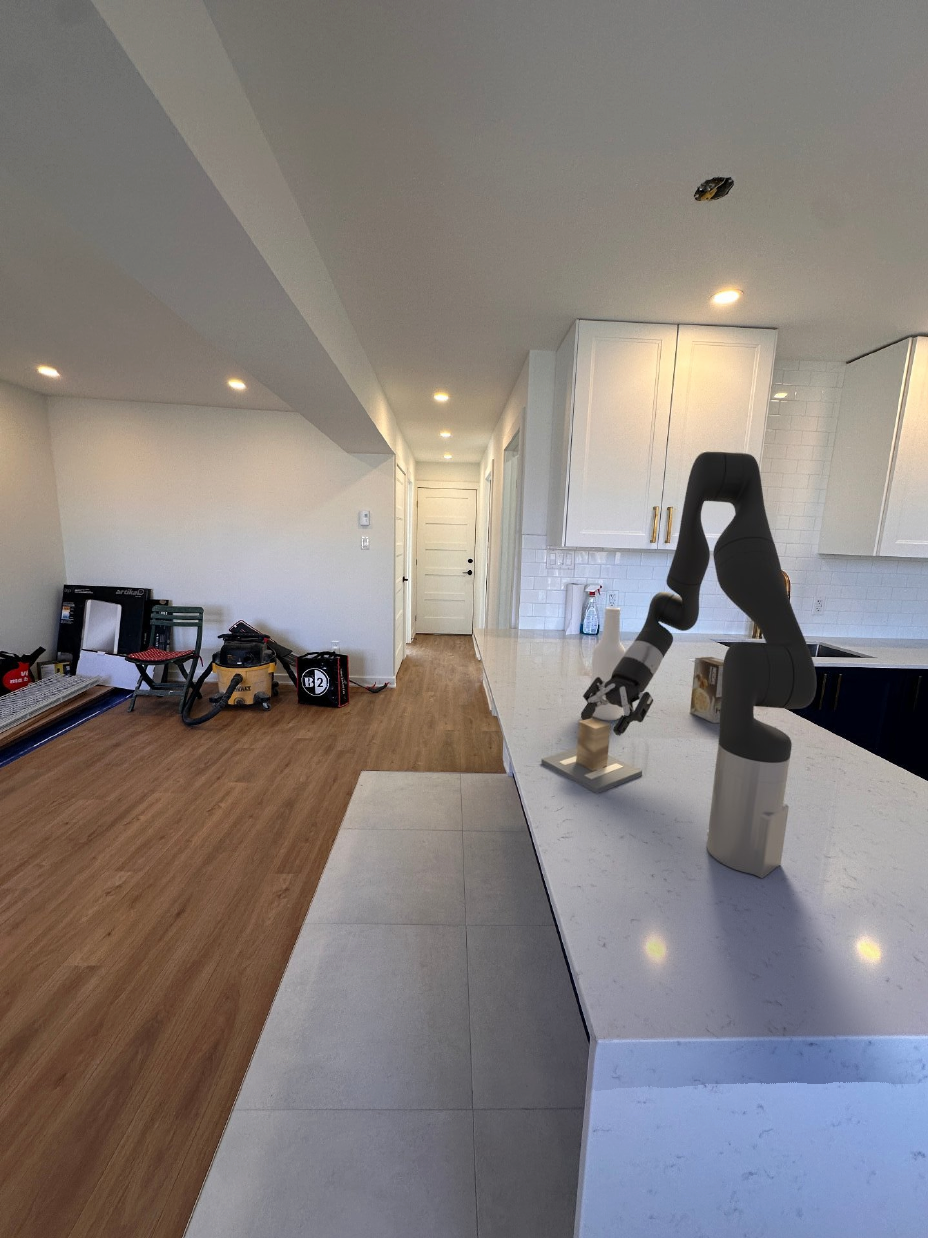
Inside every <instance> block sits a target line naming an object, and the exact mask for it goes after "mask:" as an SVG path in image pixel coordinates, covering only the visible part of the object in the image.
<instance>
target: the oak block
mask: <svg viewBox="0 0 928 1238" xmlns="http://www.w3.org/2000/svg"><path fill="white" fill-rule="evenodd" d="M610 733H611V724H610V723H608V722H605V721H604V720H601V719H597V718H594V717H591V718H590V719H587V720H580V721H578V730H577V742H576V743H577V744H576V745H577V746H576V748H577V755H576V763H578V764H580V765H582V766H584V767H586V768H588V769H590V770H592V771H593V770H596V769H599V768H602V767H604V766H607V761H608V755H609V748H610V746H609V745H610Z"/></svg>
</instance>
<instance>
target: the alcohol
mask: <svg viewBox="0 0 928 1238" xmlns="http://www.w3.org/2000/svg"><path fill="white" fill-rule="evenodd" d="M604 610H605V611H604V620H603V627H602V633H601V638H600V641H598V643H597V644H596V645H595V646H594V648H593V650H592V651H593V652H592V656H591V657H592V658H591V669H590V670H591V672H590V673H591V675H590V685H591V684H592V683H593V681H594V680H595V679H596V678H597V677H600V678H601V680H603V681H605V682H607V681H609V680H610V679H611V677H612V673H613V671H614V669H615V668H616V666H617V665H618V663H619V662H620V660H621V659H622V657H623V655H624V654H625V652H626V651H627V650H626V649H625V647H624V645H623V643H622V642H621V640H620V639H621V638H620V637H621V636H620V632H621V631H620V629H621V627H620V626H621V625H620V624H621V623H620V622H621V621H620V617H621V608H620V607H616V606H606V607H605V608H604ZM603 689H605V688H603ZM603 698H606V697H605V695H604V696H603ZM597 701H599V700H597ZM597 701H595V702H597ZM595 709H596V710H595V712H594V713H593V715H592V716H591V717H592V718H595V719H598V720H600V721H618V720H619V719H620V717H621V715H623V713H622V712H623V707H622V708H621V707H619V706H617V705H612V704H610V703H608V704H607V705H601V706H599V707H597V708H595Z"/></svg>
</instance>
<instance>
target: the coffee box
mask: <svg viewBox="0 0 928 1238" xmlns="http://www.w3.org/2000/svg"><path fill="white" fill-rule="evenodd" d="M723 663H724V659H720V658H716V657H713V656H705V657H703V656H701V657H695V658H694V667H693V677H692V687H691V698H690V699H691V700H690V710H689V713H691V714H692V715H695V716H697V717H699V718H702V719H704V720H706V721H709V722H710V723H713V724H718V723H720V722H719V720H720V707H721V693H722V672H723Z"/></svg>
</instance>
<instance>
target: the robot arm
mask: <svg viewBox="0 0 928 1238" xmlns="http://www.w3.org/2000/svg"><path fill="white" fill-rule="evenodd" d="M689 473H690V474H689V476H688V480H687V484H686V489H685V491H686V492H685V496H684V501H683V502H684V503H683V508H682V513H681V519H680V524H679V525H680V526H679V532H678V538H677V544H676V546H675V551H674V555H673V558H672V561H671V564H670V567H669V570H668V573H667V577H666V580H665V581H666V585H667V587H668V588H669V589H670V590H671V591H673V593H672V592H669V591H664V590H663V591H659V592H658V593H656V594H654V596H653V597H652V598H651V600H650V603H649V607H648V611H647V616H646V619H645V622H644V624H643V627H642V628H641V631H640V632H639V633H638V635H636V637H635V639H634V641H633V642H632V644H631V645H630V646H629V647H628V648H627V650H625V651H626V652H625V654H624V655H623V657H622V659H621V660H620V662H619V663H618V665H617V666H616V668H615V669H614V671H613V673H612V677H611V679H610V680H609V681H607V682H605V681H603V680H601V678H600V677H597V678H596V679H595V680H594V681H593V683H592V684H591V683H590V684H591V685H590V686H589V687H588V688H587V690H586V691H585V692H584V693H583V696H582V697H583V698H584V700H585V701H586V705H585V706H584V707H583V709H582V711H581V713H580V718H581V721H583V720H587V719H590V718H592V717H593V716H592V715H593V713H594V712H595V710H596V709H595V708H597V707H599V706H601V705H607V704H608V703H610V704H612V705H617V706H619V707H621V708H622V712H623V714H622V715H621V716H620V718H619V719H617V722H616V724H614V727H613V728H612V730H613V731H612V732H614V734H615V735H617V736H619V737H620V736H621V735H622V734H623V735H624V733H625V732H626V731H627V730H628V727H629V726H630V725H631V723H632V722H638V723H642V722H643V721H644V720H645V718H646V716H647V713H648V712H649V710H650V708H651V706H652V705H653V702H654V699H653V696H652V695H651V694H650V692H649V691H646V690H647V687H648V686H649V685H650V682H651V681H652V680H653V678H654V676H655V674H656V672H657V671H658V669H659V668H660V665H661V663H662V661H663V659H664V657H665V656H666V655H667V653H668V651H669V649H670V648H671V646H672V644H673V643H674V636H673V634H672V633H671V631H670V630H669V629H668V628H666V627H665V626H663V625H662V624H664V625H666V626H668V627H671V628H674V629H675V630H678V631H682V632H684V631H689V630H690V629H692V628H693V627H694V626H695V625H696V623H697V621H698V619H699V615H700V613H699V612H700V591H701V586H702V583H703V580H704V577H705V574H706V572H707V570H708V567H709V563H710V559H711V552H710V547H709V543H708V539H707V537H706V534H705V531H704V528H703V523H702V509H703V507H704V503H705V502H715V503H716V502H717V503H728V504H731V505H732V507H733V509H734V513H735V514H734V516H733V518H732V520H731V521H730V522H729V524H728V525H727V526H726V527H725V528H724V529H723V531H722V532H721V533H720V535H719V537H718V538H717V540H716V543H715V545H714V547H713V554H712V555H713V562H714V567H715V573H716V578H717V581H718V584H719V587H720V589H721V591H722V592H724V594H725V595H726V596H727V598H728V599H729V600H730V601H731V602H732V603H733V604H734V605H735V606H736V607H737V608H738V609H740V610H741V611H742V612H743V613H744V614H745V615H746V616H747V617H749V619H750V620H751V621H752V622H753V623H754V625H756V626H757V628H758V629H759V631H760V633H761V635H762V637H763V639H764V641H765V642H755V641H753V642H752V641H751V642H749V641H738V642H734V643H732V644H731V645H730V646H729V647H728V649H727V650H726V653H725V656H724V659H723V660H724V663H723V672H722V693H721V707H720V720H719V722H718V723H719V726H718V727H719V732H718V733H719V735H718V743H717V753H716V761H715V769H714V777H713V778H714V779H713V786H712V795H711V803H710V811H709V820H708V830H707V835H706V836H707V839H706V849H707V851H708V853H709V854H710V855H711V856H712V857H713V859H715V860H717V861H718V862H719V863H721V864H723V865H724V866H726V867H729V868H730V869H733V870H735V871H736V870H737V871H739V872H743V873H746V874H751V875H754V876H757V877H758V878H760V879H763V878H764V877H766V876H767V875H768V874H770V873H771V872H772V871H774V870H775V869H776V868H777V867H778V866H780V865H781V864H782V857H783V851H784V843H785V837H786V829H787V823H788V822H787V821H788V815H789V808H790V807H789V805H788V804H787V803H785V802H784V801H785V797H786V789H787V788H786V787H787V781H788V773H789V766H790V760H791V759H790V758H791V753H792V747H793V746H792V744H793V743H792V739H791V738H790V737H789V735H787V734H786V733H785V732H784V731H782V730H781V729H779V728H777V727H775V726H773V725H771V724H767V723H765V722H763V721H760V720H758V719H757V718H755V717H754V714H755V712H754V711H755V710H754V709H755V708H754V707H759V708H761V707H762V708H771V709H772V708H773V709H787V710H796V709H805V708H806V707H808V706H810V705H811V703H812V702H813V701H814V699H815V697H816V693H817V684H818V683H817V673H816V668H815V663H814V660H813V657H812V654H811V651H810V649H809V646H808V644H807V641H806V638H805V635H804V634H803V632H802V630H801V626H800V625H799V622H798V620H797V617H796V614H795V612H794V609H793V606H792V604H791V603H792V602H791V601H790V600H791V599H790V597H789V594H788V591H787V588H786V583H785V579H784V576H783V571H782V566H781V562H780V559H779V555H778V551H777V547H776V543H775V541H774V539H773V534H772V532H771V527H770V524H769V519H768V516H767V512H766V511H767V510H766V506H765V500H764V495H763V494H764V493H763V486H762V477H761V471H760V467H759V463H758V461H757V459H756V457H755V456H754V455H752V454H750V453H746V452H738V451H726V450H725V451H723V450H704V451H702V452H701V453H699V454H698V455H697V456H696V458H695V460H694V462H693V464H692V466H691V469H690V472H689ZM675 593H676V594H675ZM603 688H605V689H603ZM604 695H605V697H606V698H603V696H604ZM597 700H599V701H597ZM595 701H597V702H595ZM637 701H638V703H637V704H636V707H635V709H634V704H633V703H635V702H637Z"/></svg>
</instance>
